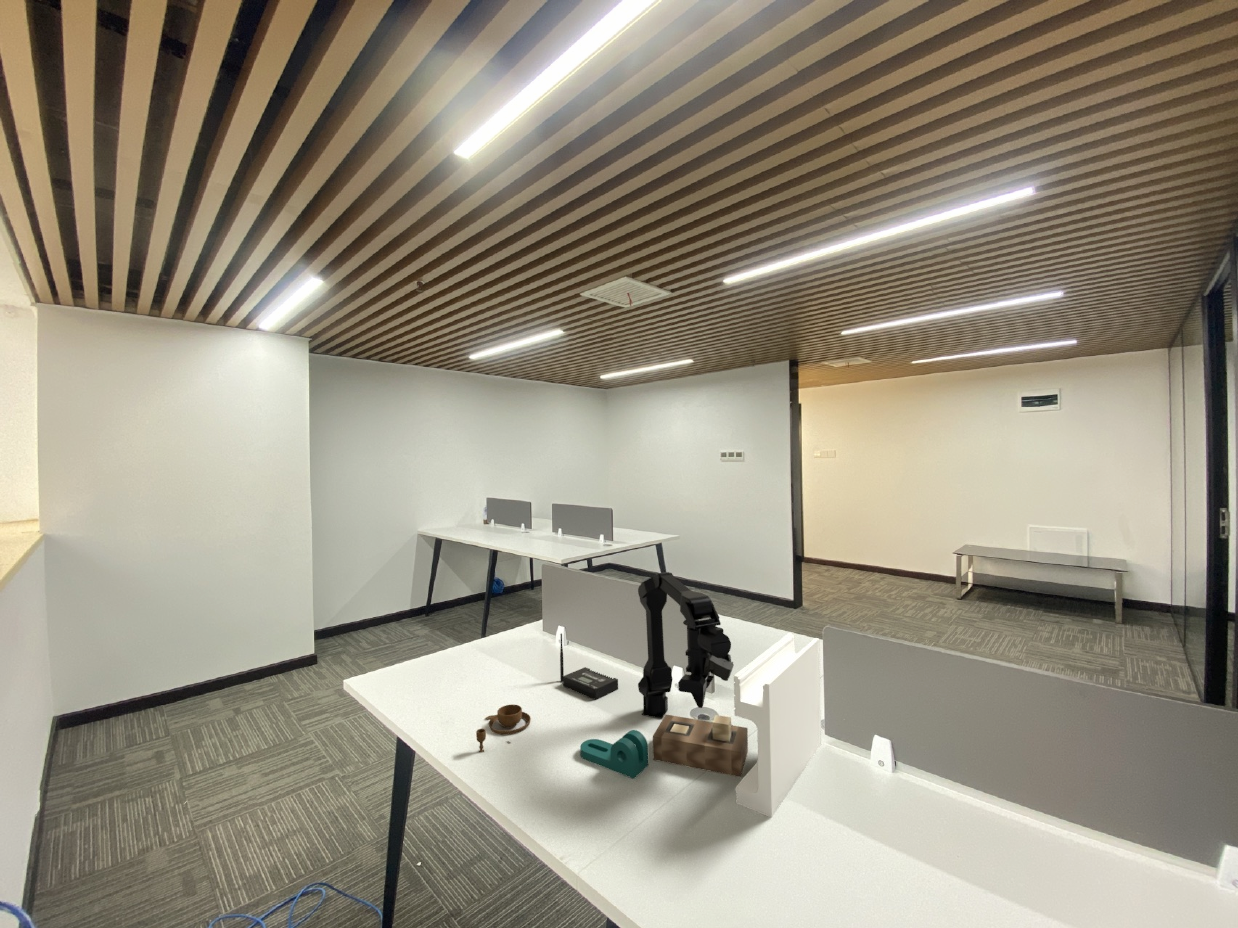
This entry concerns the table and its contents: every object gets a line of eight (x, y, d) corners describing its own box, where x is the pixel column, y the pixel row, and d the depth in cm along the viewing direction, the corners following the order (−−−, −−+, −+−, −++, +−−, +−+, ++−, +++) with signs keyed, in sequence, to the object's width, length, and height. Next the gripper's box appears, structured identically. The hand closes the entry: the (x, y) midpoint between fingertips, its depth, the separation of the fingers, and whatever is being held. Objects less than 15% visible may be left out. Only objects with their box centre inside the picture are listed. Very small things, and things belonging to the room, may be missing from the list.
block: (771, 817, 108) (769, 684, 108) (736, 802, 113) (733, 675, 113) (821, 744, 136) (819, 638, 136) (791, 735, 140) (788, 632, 141)
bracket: (648, 765, 128) (647, 734, 128) (633, 779, 122) (633, 746, 122) (591, 744, 138) (590, 715, 138) (575, 756, 132) (574, 726, 132)
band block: (653, 759, 130) (652, 736, 130) (666, 736, 141) (665, 714, 141) (741, 777, 122) (740, 752, 122) (747, 750, 133) (747, 727, 133)
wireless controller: (621, 688, 173) (620, 638, 173) (592, 703, 162) (591, 649, 162) (581, 673, 186) (580, 626, 186) (551, 686, 176) (550, 636, 176)
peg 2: (712, 744, 128) (712, 722, 128) (715, 736, 132) (715, 714, 132) (728, 747, 127) (728, 724, 127) (731, 739, 131) (731, 717, 131)
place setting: (544, 730, 146) (544, 709, 146) (480, 758, 133) (479, 735, 133) (512, 709, 159) (512, 690, 159) (451, 733, 146) (450, 712, 146)
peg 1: (670, 753, 132) (670, 731, 132) (674, 745, 136) (674, 723, 136) (685, 756, 131) (685, 733, 131) (689, 747, 135) (689, 726, 135)
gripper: (722, 661, 120) (724, 729, 119) (736, 637, 137) (738, 696, 136) (676, 656, 124) (678, 721, 124) (695, 633, 141) (697, 691, 141)
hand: (700, 707), depth 131 cm, fingers closed
